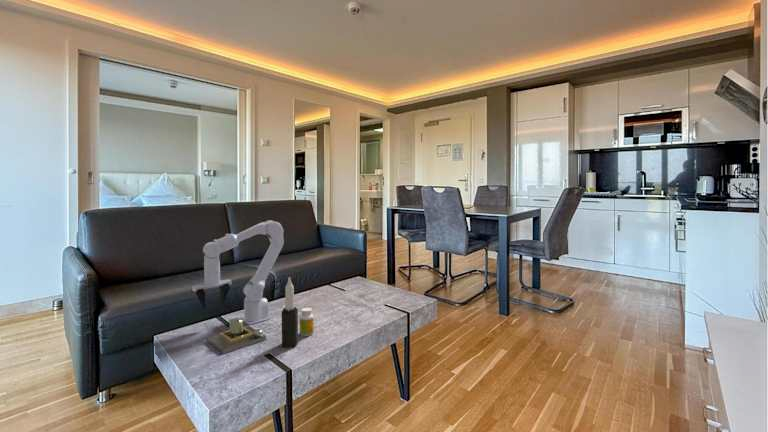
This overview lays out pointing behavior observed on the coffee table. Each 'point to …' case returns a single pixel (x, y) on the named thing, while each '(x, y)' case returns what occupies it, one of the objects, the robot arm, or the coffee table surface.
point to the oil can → (236, 327)
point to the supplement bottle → (306, 322)
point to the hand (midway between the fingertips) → (213, 305)
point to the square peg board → (236, 340)
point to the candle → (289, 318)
